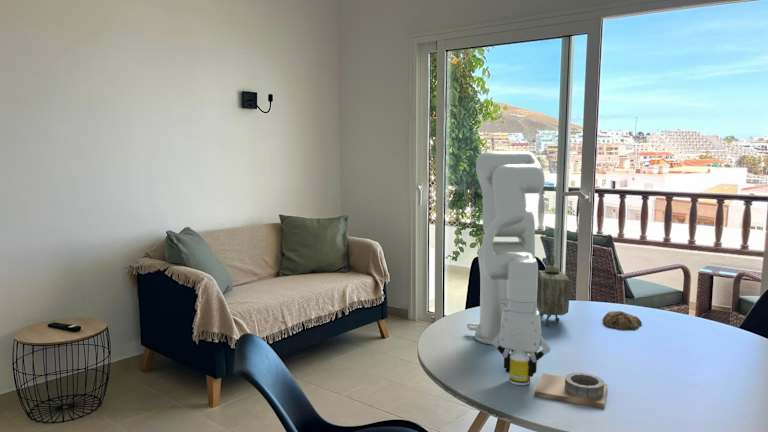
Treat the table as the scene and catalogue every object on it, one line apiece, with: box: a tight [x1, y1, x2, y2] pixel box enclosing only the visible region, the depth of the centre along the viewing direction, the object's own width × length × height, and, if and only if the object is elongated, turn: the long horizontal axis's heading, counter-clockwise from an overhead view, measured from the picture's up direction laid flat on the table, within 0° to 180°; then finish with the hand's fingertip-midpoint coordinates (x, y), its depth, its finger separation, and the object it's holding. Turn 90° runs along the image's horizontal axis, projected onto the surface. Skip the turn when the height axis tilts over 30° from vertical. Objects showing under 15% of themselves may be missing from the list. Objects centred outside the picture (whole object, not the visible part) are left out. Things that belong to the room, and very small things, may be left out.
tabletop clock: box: [537, 251, 570, 327], centre depth 193 cm, size 14×9×25 cm, turn 172°
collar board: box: [534, 372, 608, 409], centre depth 137 cm, size 16×12×4 cm
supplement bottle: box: [508, 350, 531, 386], centre depth 143 cm, size 5×5×10 cm
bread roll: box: [602, 310, 643, 331], centre depth 190 cm, size 13×12×5 cm
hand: (519, 372), depth 143 cm, fingers closed on supplement bottle, 5 cm apart
